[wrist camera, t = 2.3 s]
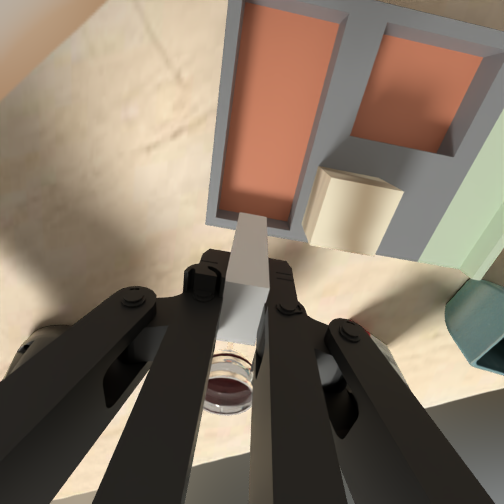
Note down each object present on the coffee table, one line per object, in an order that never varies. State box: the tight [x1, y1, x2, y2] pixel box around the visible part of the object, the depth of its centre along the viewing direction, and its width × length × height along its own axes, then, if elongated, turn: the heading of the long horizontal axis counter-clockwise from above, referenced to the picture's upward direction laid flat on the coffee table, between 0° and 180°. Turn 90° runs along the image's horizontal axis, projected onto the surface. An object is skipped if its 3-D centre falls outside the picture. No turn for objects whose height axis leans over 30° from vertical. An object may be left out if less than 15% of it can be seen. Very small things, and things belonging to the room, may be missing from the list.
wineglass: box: [203, 342, 253, 415], centre depth 32 cm, size 7×7×12 cm
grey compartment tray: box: [205, 0, 504, 281], centre depth 24 cm, size 30×20×5 cm, turn 80°
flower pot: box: [445, 279, 504, 376], centre depth 31 cm, size 9×9×9 cm
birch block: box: [302, 166, 404, 256], centre depth 24 cm, size 6×6×5 cm
